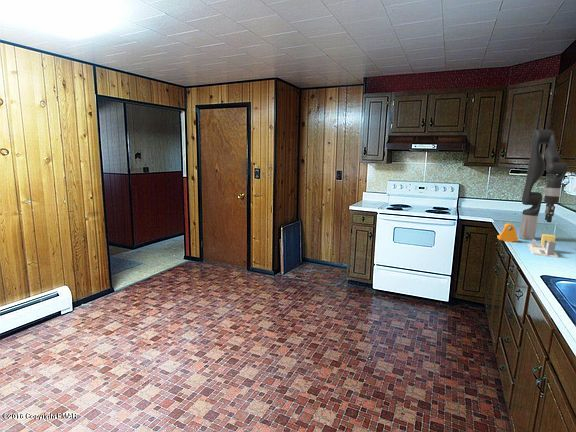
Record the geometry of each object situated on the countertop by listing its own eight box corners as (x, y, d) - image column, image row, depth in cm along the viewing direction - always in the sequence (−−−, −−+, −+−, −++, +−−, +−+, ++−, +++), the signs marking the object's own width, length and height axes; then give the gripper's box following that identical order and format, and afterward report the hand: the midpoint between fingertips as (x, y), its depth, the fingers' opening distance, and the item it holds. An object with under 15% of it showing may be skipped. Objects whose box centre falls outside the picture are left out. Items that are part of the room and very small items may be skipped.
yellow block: (540, 243, 217) (542, 233, 216) (552, 244, 214) (554, 235, 213) (541, 245, 212) (543, 235, 211) (553, 246, 210) (555, 236, 209)
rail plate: (527, 245, 227) (529, 232, 225) (549, 247, 222) (551, 235, 220) (532, 254, 206) (534, 240, 205) (557, 257, 201) (560, 243, 199)
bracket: (514, 240, 240) (516, 223, 238) (517, 242, 234) (520, 225, 231) (496, 238, 244) (498, 222, 241) (499, 241, 237) (501, 223, 235)
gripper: (562, 196, 207) (557, 224, 210) (557, 194, 219) (553, 220, 222) (547, 195, 210) (542, 222, 213) (543, 193, 223) (538, 218, 226)
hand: (547, 221), depth 218 cm, fingers open, 6 cm apart
